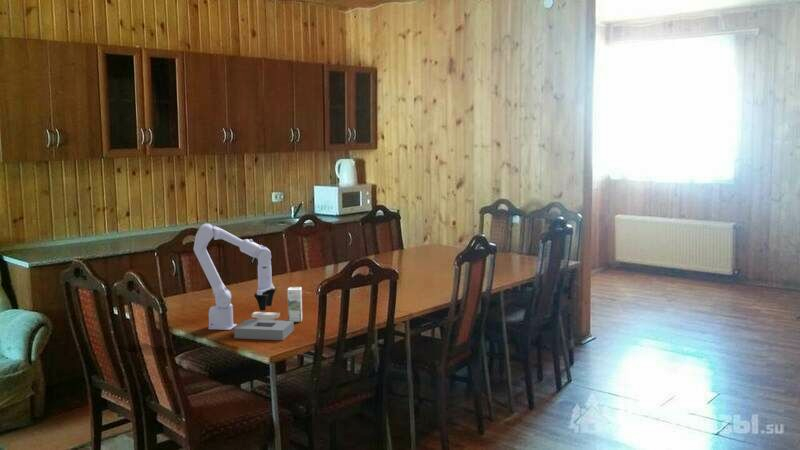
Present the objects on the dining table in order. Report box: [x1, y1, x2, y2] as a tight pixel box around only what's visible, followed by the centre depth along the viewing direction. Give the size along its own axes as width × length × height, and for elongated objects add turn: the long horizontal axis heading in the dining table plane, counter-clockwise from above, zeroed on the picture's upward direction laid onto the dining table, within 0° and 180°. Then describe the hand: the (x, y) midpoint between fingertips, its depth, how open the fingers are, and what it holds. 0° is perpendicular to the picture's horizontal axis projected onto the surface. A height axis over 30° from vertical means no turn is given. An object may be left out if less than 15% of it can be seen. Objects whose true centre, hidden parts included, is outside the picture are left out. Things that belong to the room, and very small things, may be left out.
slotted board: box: [233, 318, 295, 341], centre depth 293 cm, size 20×14×4 cm
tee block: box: [251, 311, 281, 320], centre depth 306 cm, size 11×4×5 cm, turn 81°
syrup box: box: [286, 286, 303, 323], centre depth 313 cm, size 6×6×14 cm
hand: (265, 308), depth 305 cm, fingers open, 7 cm apart
